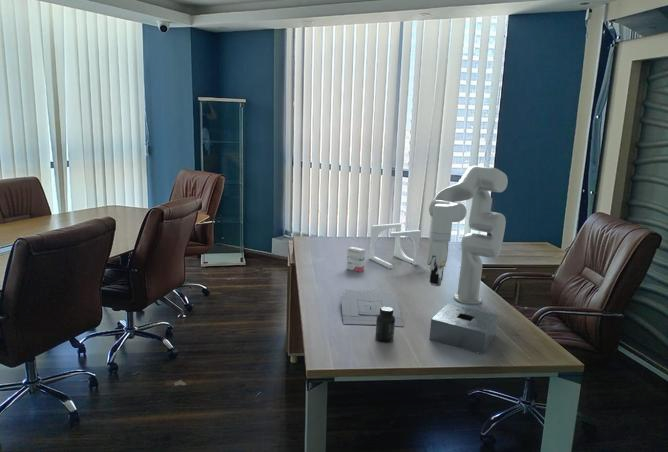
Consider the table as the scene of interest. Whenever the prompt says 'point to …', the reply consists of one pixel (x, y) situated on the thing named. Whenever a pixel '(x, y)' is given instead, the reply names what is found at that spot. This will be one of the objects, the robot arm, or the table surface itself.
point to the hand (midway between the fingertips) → (435, 281)
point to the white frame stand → (398, 250)
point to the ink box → (355, 259)
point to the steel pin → (439, 274)
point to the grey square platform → (463, 327)
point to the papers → (367, 306)
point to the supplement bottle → (385, 325)
